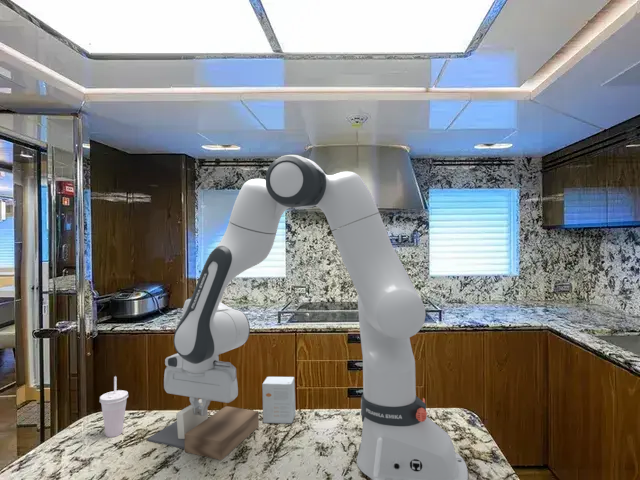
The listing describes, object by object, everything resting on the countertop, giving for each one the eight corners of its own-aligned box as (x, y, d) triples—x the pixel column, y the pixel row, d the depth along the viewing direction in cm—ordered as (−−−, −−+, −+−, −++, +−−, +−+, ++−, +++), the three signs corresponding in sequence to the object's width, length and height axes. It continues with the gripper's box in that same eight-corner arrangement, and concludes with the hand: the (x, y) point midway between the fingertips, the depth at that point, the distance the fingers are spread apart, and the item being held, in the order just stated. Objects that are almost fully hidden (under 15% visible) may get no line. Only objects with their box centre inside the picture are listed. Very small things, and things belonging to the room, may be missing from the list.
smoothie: (133, 427, 97) (132, 373, 97) (120, 439, 90) (120, 381, 91) (108, 427, 96) (108, 373, 97) (93, 440, 90) (93, 382, 90)
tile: (206, 399, 97) (200, 398, 98) (182, 413, 89) (176, 413, 90) (208, 422, 97) (202, 422, 98) (184, 439, 89) (178, 438, 89)
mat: (223, 422, 98) (223, 420, 98) (187, 449, 85) (187, 447, 85) (187, 416, 103) (187, 414, 103) (147, 440, 90) (147, 438, 90)
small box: (295, 414, 103) (295, 376, 103) (292, 424, 97) (291, 383, 97) (267, 413, 104) (267, 375, 104) (262, 423, 98) (262, 383, 98)
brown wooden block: (258, 426, 96) (258, 411, 96) (221, 460, 81) (221, 441, 81) (226, 421, 99) (225, 406, 99) (184, 451, 84) (184, 434, 84)
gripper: (242, 359, 92) (243, 415, 92) (177, 352, 99) (177, 403, 99) (228, 367, 86) (228, 426, 86) (159, 358, 93) (159, 413, 93)
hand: (200, 414), depth 93 cm, fingers closed
